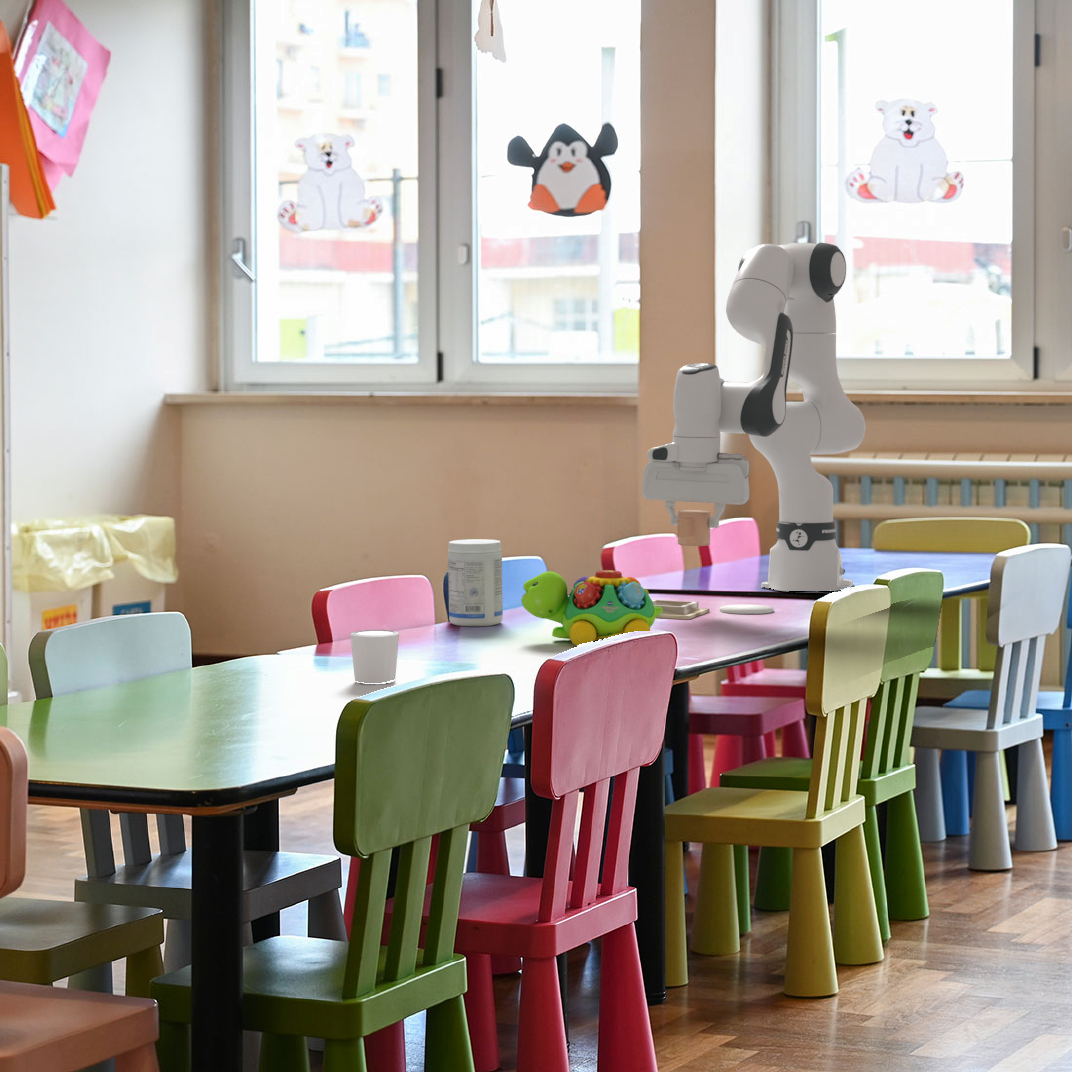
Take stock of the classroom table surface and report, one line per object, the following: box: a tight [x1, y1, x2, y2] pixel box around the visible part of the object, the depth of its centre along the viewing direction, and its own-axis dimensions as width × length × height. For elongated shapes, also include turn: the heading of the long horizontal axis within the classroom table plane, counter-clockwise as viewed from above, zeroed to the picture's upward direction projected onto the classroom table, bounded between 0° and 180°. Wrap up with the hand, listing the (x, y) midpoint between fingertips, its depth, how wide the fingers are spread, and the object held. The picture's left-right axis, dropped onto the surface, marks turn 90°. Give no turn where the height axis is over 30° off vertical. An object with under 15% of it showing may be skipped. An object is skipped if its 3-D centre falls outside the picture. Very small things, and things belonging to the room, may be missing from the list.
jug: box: [676, 509, 712, 547], centre depth 318 cm, size 6×10×6 cm, turn 155°
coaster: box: [719, 604, 775, 615], centre depth 322 cm, size 10×10×1 cm
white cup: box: [349, 629, 400, 683], centre depth 242 cm, size 7×7×7 cm
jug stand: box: [651, 599, 710, 620], centre depth 318 cm, size 12×12×2 cm
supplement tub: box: [447, 538, 504, 627], centre depth 304 cm, size 10×10×15 cm
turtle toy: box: [520, 569, 663, 646], centre depth 282 cm, size 17×23×12 cm
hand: (694, 526), depth 319 cm, fingers closed on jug, 6 cm apart
